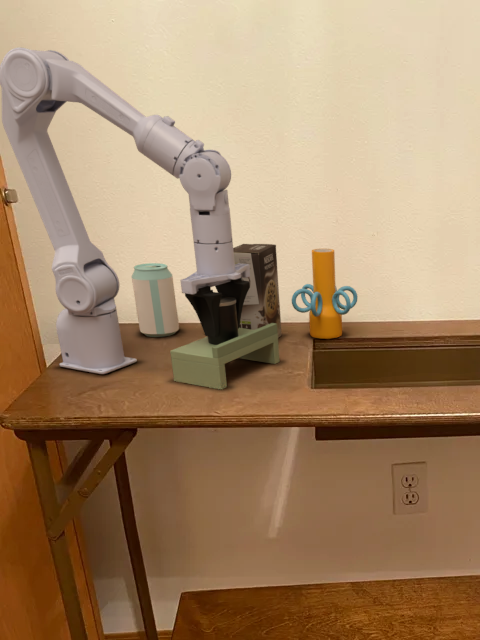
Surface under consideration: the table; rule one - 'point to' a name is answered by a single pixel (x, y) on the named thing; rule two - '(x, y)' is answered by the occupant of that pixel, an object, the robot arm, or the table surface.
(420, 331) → the table surface
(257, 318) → the coffee box
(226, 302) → the canister
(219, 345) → the shelf
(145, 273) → the can
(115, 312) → the robot arm
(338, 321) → the orange and blue post
